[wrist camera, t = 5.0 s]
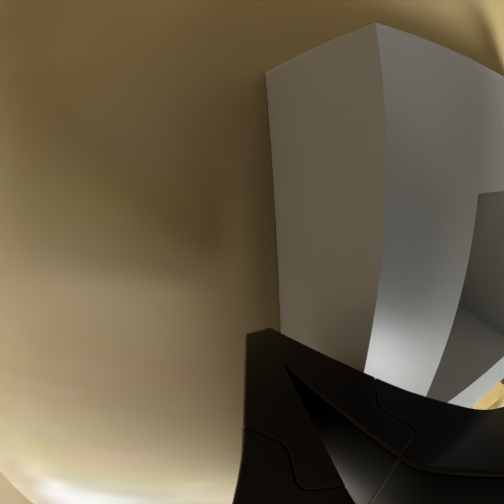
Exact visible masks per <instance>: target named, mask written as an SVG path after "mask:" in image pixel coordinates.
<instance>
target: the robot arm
mask: <svg viewBox="0 0 504 504" xmlns="http://www.w3.org/2000/svg"><path fill="white" fill-rule="evenodd" d="M232 504H504V407H501V408H497V409H491V410H478V409H471V408H467V407H463V406H459V405H455V404H451V403H447V402H444V401H440V400H436V399H433V398H429V397H426V396H423V395H419V394H416V393H413V392H410V391H407V390H405V389H402V388H399V387H397V386H394V385H392V384H389V383H387V382H385V381H382V380H380V379H378V378H376V379H375V378H374V377H373V376H371V375H368V374H366V373H364V372H362V371H360V370H357V369H355V368H353V367H351V366H349V365H346V364H344V363H342V362H340V361H338V360H336V359H333V358H331V357H329V356H327V355H325V354H323V353H321V352H319V351H317V350H315V349H312V348H310V347H308V346H306V345H304V344H302V343H300V342H298V341H296V340H294V339H292V338H290V337H288V336H286V335H284V334H282V333H280V332H278V331H276V330H274V329H272V328H267V329H263V330H259V331H256V332H252V333H248V334H246V337H245V369H244V403H243V431H242V451H241V462H240V468H239V474H238V480H237V485H236V489H235V494H234V499H233V503H232Z"/></svg>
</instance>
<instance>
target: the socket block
mask: <svg viewBox="0 0 504 504" xmlns="http://www.w3.org/2000/svg"><path fill="white" fill-rule="evenodd" d="M265 77H266V88H267V101H268V113H269V126H270V140H271V154H272V169H273V184H274V201H275V218H276V237H277V257H278V278H279V302H280V330H281V333H282V334H284V335H286V336H288V337H290V338H292V339H294V340H296V341H298V342H300V343H302V344H304V345H306V346H308V347H310V348H312V349H315V350H317V351H319V352H321V353H323V354H325V355H327V356H329V357H331V358H333V359H336V360H338V361H340V362H342V363H344V364H346V365H349V366H351V367H353V368H355V369H357V370H360V371H362V372H364V373H366V374H368V375H371V376H373V377H374V378H375V379H376V378H378V379H380V380H382V381H385V382H387V383H389V384H392V385H394V386H397V387H399V388H402V389H405V390H407V391H410V392H413V393H416V394H419V395H423V396H426V397H429V398H433V399H436V400H440V401H444V402H447V403H451V404H455V405H459V406H463V407H467V408H471V407H473V406H474V405H475V404H476V403H477V402H478V401H480V400H481V399H482V398H483V397H484V396H485V395H486V394H487V393H489V392H490V391H491V390H492V389H493V388H494V387H495V386H496V385H497V384H498V383H499V382H500V381H501V380H502V379H503V378H504V77H503V76H502V75H500V74H498V73H496V72H495V71H493V70H491V69H489V68H487V67H486V66H484V65H482V64H480V63H478V62H476V61H474V60H472V59H470V58H468V57H466V56H464V55H462V54H460V53H457V52H455V51H453V50H451V49H448V48H446V47H444V46H441V45H439V44H437V43H434V42H432V41H429V40H427V39H424V38H421V37H419V36H416V35H413V34H410V33H407V32H404V31H402V30H398V29H395V28H392V27H389V26H386V25H382V24H379V23H372V24H370V25H367V26H364V27H362V28H359V29H356V30H354V31H351V32H349V33H346V34H344V35H342V36H339V37H337V38H334V39H332V40H330V41H328V42H325V43H323V44H321V45H319V46H316V47H314V48H312V49H310V50H308V51H306V52H304V53H302V54H299V55H297V56H295V57H293V58H291V59H289V60H287V61H285V62H284V63H282V64H280V65H278V66H276V67H274V68H272V69H270V70H268V71H266V72H265Z"/></svg>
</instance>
